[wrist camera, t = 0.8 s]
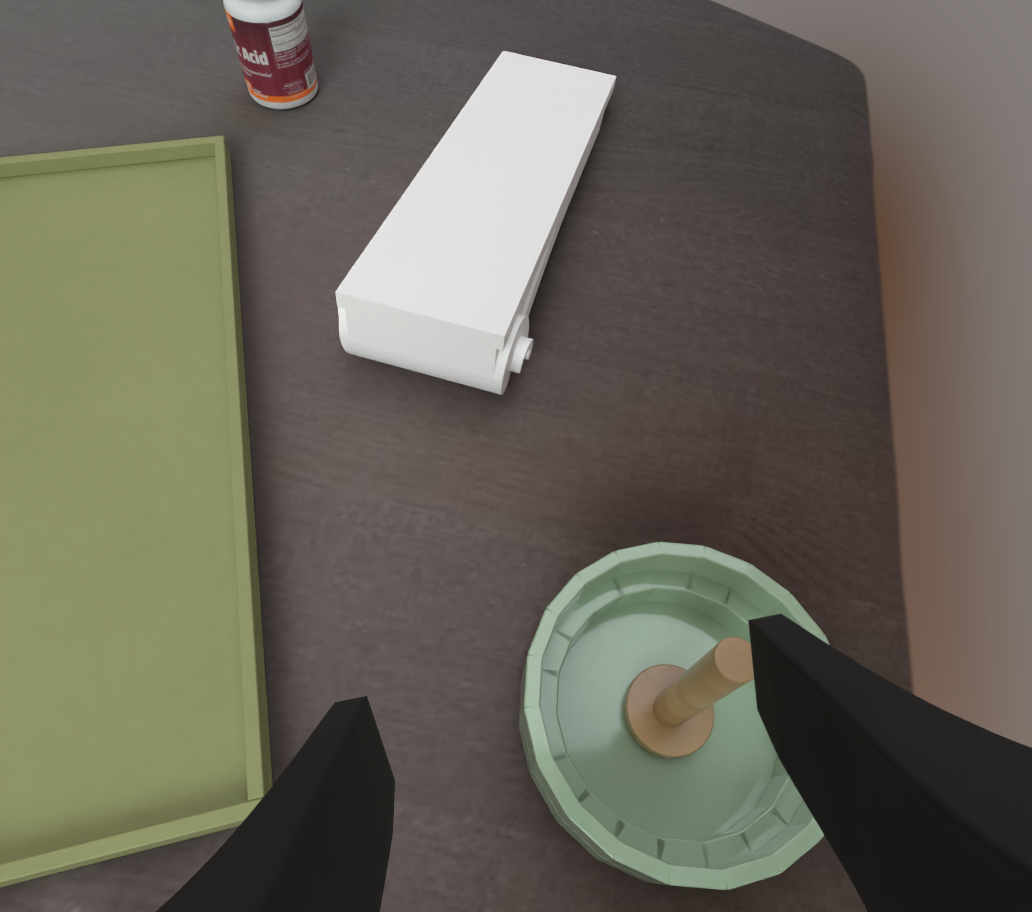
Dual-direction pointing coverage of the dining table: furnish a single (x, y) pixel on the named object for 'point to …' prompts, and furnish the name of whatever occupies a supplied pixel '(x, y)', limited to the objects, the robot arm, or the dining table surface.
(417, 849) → the dining table surface
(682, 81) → the dining table surface
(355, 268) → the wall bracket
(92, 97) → the dining table surface
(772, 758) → the shallow round dish
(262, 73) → the pill bottle
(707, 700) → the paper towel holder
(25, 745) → the serving tray
